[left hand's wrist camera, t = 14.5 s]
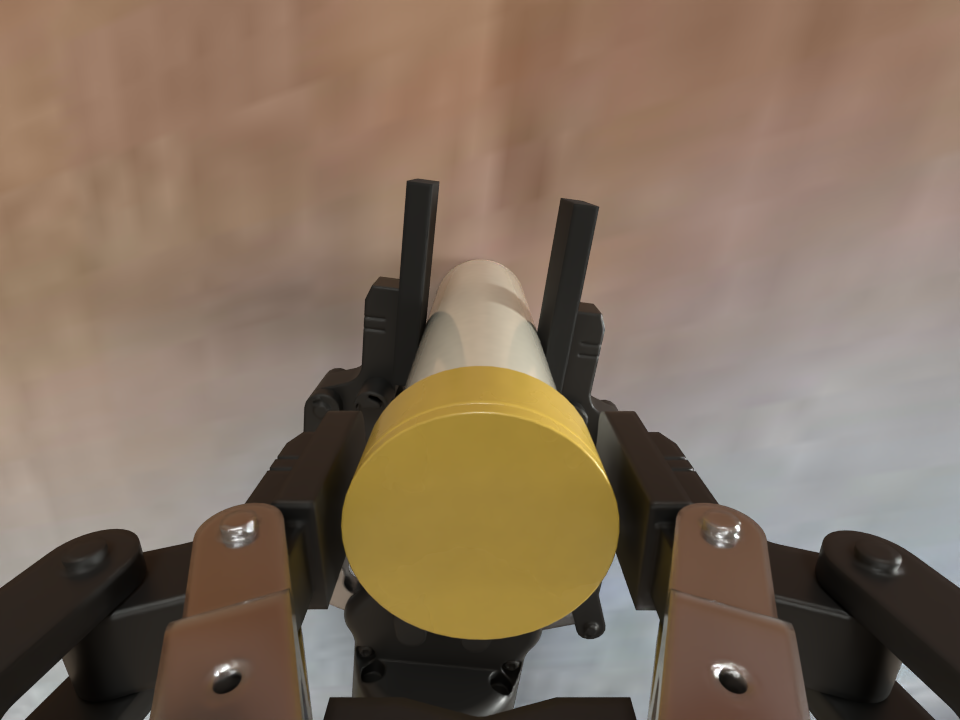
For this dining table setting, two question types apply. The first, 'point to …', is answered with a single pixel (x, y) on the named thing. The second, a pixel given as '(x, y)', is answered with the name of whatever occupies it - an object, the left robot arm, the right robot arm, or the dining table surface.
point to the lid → (480, 506)
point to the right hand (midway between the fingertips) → (501, 193)
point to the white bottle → (480, 325)
